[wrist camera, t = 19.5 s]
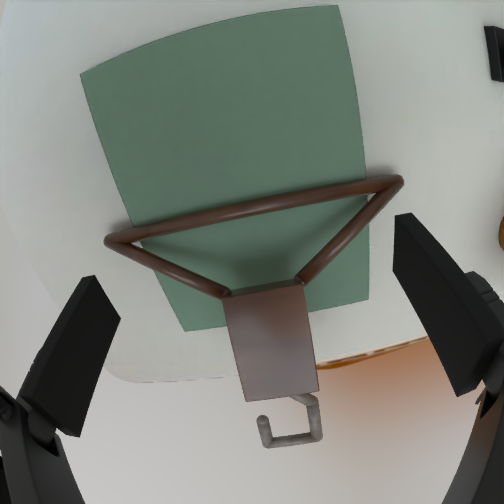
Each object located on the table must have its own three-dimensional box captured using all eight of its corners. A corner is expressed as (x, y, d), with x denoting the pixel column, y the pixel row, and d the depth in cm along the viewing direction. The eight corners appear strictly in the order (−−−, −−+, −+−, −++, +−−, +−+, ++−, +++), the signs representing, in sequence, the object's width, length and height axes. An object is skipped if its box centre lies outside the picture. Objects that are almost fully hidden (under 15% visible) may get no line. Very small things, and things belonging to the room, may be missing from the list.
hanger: (111, 235, 21) (173, 442, 22) (94, 236, 19) (164, 458, 20) (395, 176, 19) (415, 406, 20) (408, 170, 17) (425, 421, 18)
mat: (366, 295, 25) (368, 299, 24) (185, 327, 26) (184, 332, 26) (335, 6, 13) (338, 5, 12) (83, 74, 15) (79, 74, 14)
